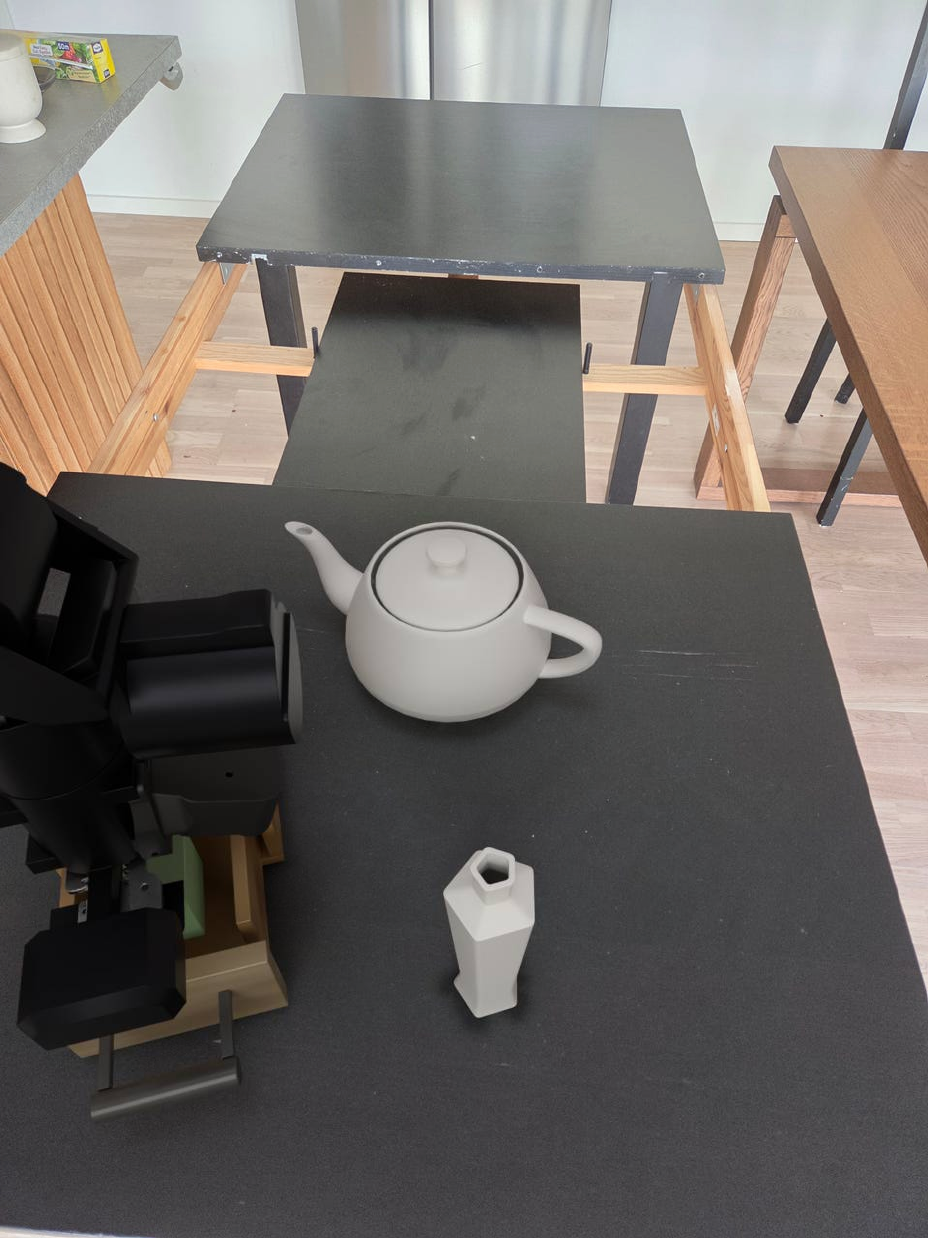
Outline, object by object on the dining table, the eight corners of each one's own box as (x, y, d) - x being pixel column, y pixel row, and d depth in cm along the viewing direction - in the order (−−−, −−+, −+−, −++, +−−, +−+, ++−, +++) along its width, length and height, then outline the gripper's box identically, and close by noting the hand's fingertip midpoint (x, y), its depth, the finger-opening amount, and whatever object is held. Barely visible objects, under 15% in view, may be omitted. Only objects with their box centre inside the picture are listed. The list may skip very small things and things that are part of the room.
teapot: (621, 638, 68) (644, 524, 59) (554, 793, 58) (570, 685, 49) (350, 552, 75) (333, 437, 66) (251, 678, 65) (216, 564, 56)
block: (122, 955, 45) (96, 922, 42) (124, 879, 48) (99, 843, 45) (206, 935, 46) (186, 901, 43) (203, 862, 49) (184, 825, 46)
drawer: (298, 1095, 45) (276, 1059, 40) (75, 1156, 43) (24, 1126, 38) (267, 803, 57) (248, 747, 52) (92, 841, 55) (54, 786, 50)
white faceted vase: (449, 943, 51) (444, 822, 40) (521, 945, 51) (536, 824, 40) (446, 1023, 48) (439, 915, 37) (522, 1025, 48) (539, 919, 37)
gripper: (272, 905, 30) (326, 1038, 42) (237, 555, 42) (287, 733, 54) (-62, 983, 28) (92, 1100, 40) (3, 595, 40) (106, 770, 52)
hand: (158, 900), depth 46 cm, fingers closed on block, 4 cm apart
